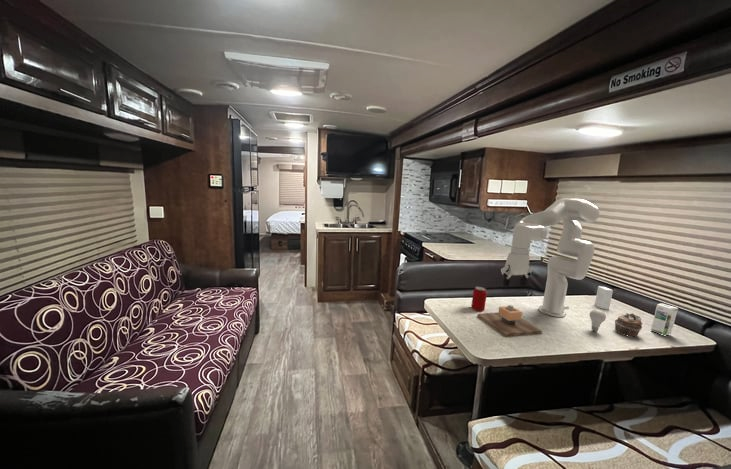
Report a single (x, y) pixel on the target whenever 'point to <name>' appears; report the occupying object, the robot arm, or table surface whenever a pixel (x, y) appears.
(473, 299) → the beverage can
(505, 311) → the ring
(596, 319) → the lightbulb
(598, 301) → the skincare box
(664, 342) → the table surface
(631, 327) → the cupcake
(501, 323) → the post stand
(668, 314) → the syrup box
